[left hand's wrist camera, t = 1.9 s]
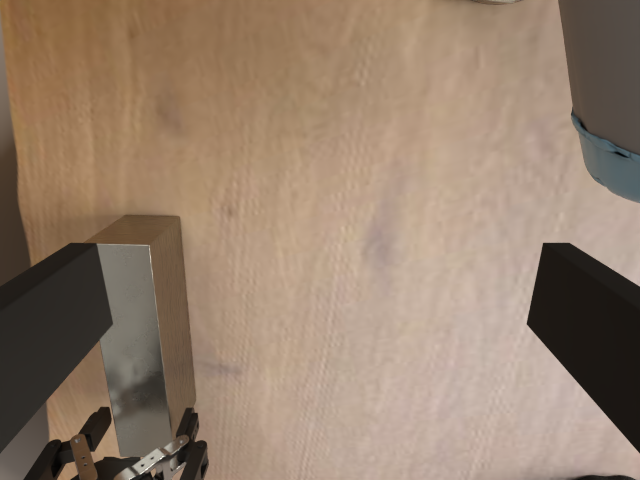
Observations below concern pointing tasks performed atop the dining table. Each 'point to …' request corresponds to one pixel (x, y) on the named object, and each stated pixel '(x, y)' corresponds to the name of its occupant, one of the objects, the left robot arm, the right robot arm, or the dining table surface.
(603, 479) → the sign
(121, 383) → the bar
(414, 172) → the dining table surface
